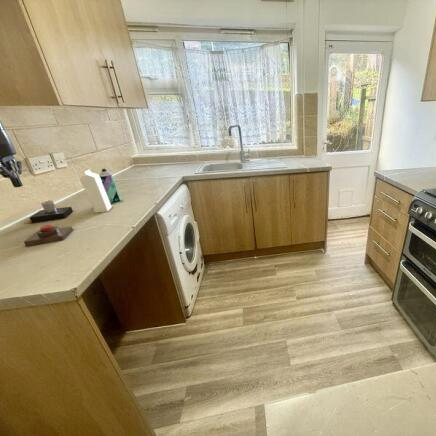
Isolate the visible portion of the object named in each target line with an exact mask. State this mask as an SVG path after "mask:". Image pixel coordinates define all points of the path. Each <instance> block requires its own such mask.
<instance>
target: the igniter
mask: <svg viewBox="0 0 436 436" xmlns="http://www.w3.org/2000/svg"><path fill="white" fill-rule="evenodd" d="M52 227H53V230H50V231H47V232H41V230H40V229H38V230H37V231H35V232H34V233H33V234H32V235H30V236H29V237H28V238H26V239H25V240H24V241H23V243H24V245H25V247H26V248H27V247H32V246H38V245H39V246H40V245H45V244H50V243H56V242H61V241H65V239H66V238H67V237H68V236H69V235H70V234H71V233H72V232H73V231H74V229H73V227H72V226H63V227H58V226H54V225H52Z"/></svg>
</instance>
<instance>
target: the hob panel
mask: <svg viewBox="0 0 436 436" xmlns="http://www.w3.org/2000/svg"><path fill="white" fill-rule="evenodd" d="M56 209H57V211H56V212H53V213H45V211H44V209H41V210H39V211H37V212H35V213H34V214H33V215H31V216H29V220H30V221H31V223H32V224H36V223H42V222H43V223H44V222H51V221H58V220H64V219H66V218H68V217H69V216H70V215H71V214H72V213H73V212H74V210H73V208H72V206H64V207H57V208H56Z"/></svg>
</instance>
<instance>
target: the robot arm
mask: <svg viewBox="0 0 436 436" xmlns="http://www.w3.org/2000/svg"><path fill="white" fill-rule="evenodd" d="M16 155H17V150H16V149H15V146H14V144H13V142H12V140H11V137H10V136H9V134H8V132H7V131H6V129H5V128H4V125H3V122H2V121H1V120H0V176H1V177H3V178H4V179H9V180H10V182H11V185H12V186H13V188H21V187H23V186H24V184H23V183H22V180H21V178H20V177H21V175H22V174H23V173H22V172H23V171H22V170H23V169H22V161H21V160H17V159H16V158H15V156H16Z"/></svg>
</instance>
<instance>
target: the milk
mask: <svg viewBox="0 0 436 436" xmlns="http://www.w3.org/2000/svg"><path fill="white" fill-rule="evenodd" d="M80 182H81V184H82V187H83V188H84V191H85V194H86V195H87V199H88V200H89V203H90V204H91V207H92V209H93V212H94V213H95V214H96V213H105V212H109V211H110V210H111V208H112V203H110V200H109V198H108V195H107V193H106V190H105V188H104V185H103V183H102V180H101V178H100V175H99V173H95V172H93V171H91V169H90V168H89V169H87V170H85V171H84V175H83V176H81V178H80Z"/></svg>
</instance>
